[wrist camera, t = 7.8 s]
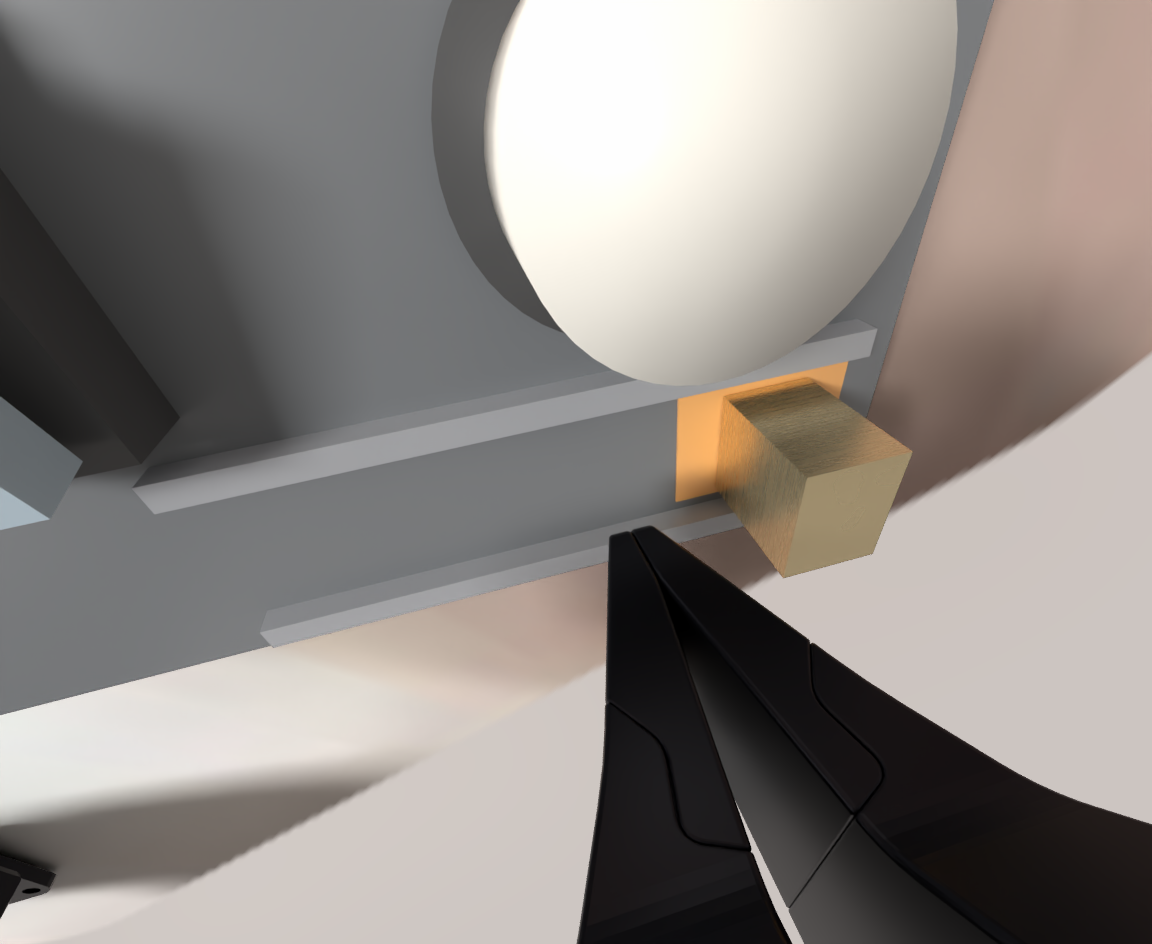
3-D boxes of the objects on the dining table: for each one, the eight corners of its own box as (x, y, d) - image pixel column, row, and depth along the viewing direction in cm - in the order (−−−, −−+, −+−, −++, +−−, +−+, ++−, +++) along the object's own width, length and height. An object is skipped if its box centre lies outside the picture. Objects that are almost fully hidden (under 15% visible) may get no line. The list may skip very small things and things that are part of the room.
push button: (519, 348, 7) (545, 420, 6) (438, -76, 5) (440, -184, 3) (783, 296, 8) (878, 347, 6) (845, -114, 5) (1049, -228, 3)
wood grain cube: (715, 487, 12) (783, 578, 10) (723, 396, 10) (807, 477, 8) (789, 469, 12) (872, 553, 10) (807, 377, 11) (912, 451, 8)
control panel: (20, 663, 12) (-75, 788, 10) (-949, 25, 5) (-2145, -51, 3) (809, 468, 15) (876, 532, 13) (955, -146, 7) (1185, -259, 5)
